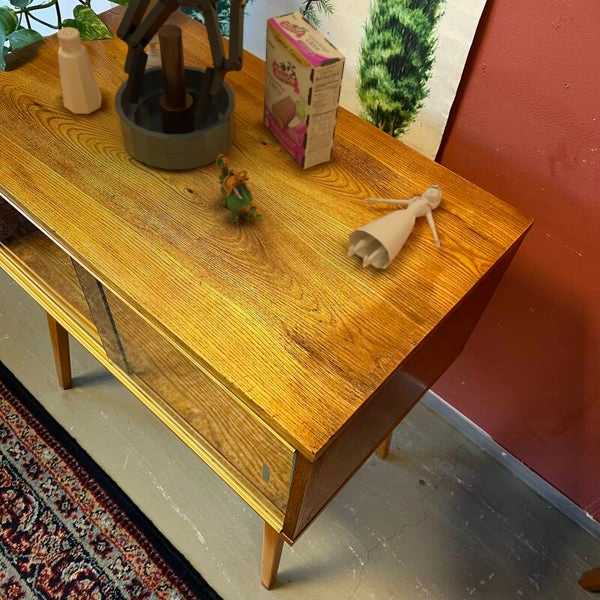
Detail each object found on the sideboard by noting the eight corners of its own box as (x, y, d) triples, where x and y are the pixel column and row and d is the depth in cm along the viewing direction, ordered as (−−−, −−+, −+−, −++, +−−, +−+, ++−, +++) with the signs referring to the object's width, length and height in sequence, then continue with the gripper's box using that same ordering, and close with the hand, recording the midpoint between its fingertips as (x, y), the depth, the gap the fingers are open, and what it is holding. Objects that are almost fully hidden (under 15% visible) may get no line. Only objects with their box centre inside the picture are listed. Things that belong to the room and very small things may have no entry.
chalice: (162, 50, 104) (150, -70, 90) (188, 70, 102) (180, -50, 87) (122, 66, 101) (103, -56, 87) (148, 88, 98) (133, -34, 84)
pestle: (158, 137, 91) (146, 37, 79) (168, 118, 93) (158, 17, 81) (189, 143, 90) (182, 43, 79) (198, 124, 93) (193, 24, 81)
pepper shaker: (96, 88, 97) (82, 17, 89) (107, 109, 95) (94, 38, 86) (59, 96, 96) (41, 25, 87) (69, 118, 93) (52, 47, 84)
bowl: (103, 161, 88) (96, 124, 83) (143, 92, 98) (138, 56, 93) (217, 183, 87) (216, 147, 83) (246, 112, 97) (247, 76, 92)
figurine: (228, 184, 87) (227, 134, 81) (273, 245, 82) (276, 196, 75) (206, 191, 86) (204, 141, 80) (251, 253, 80) (252, 205, 74)
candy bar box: (260, 125, 95) (264, 17, 82) (290, 115, 97) (299, 8, 84) (301, 173, 90) (312, 65, 77) (332, 161, 92) (348, 55, 79)
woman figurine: (321, 219, 78) (405, 156, 88) (315, 246, 82) (398, 182, 92) (401, 273, 74) (480, 200, 84) (392, 298, 78) (469, 226, 88)
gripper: (295, -39, 85) (251, 136, 88) (138, -75, 87) (100, 96, 91) (285, -65, 77) (237, 127, 81) (114, -103, 80) (73, 84, 83)
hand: (165, 111), depth 86 cm, fingers open, 9 cm apart
